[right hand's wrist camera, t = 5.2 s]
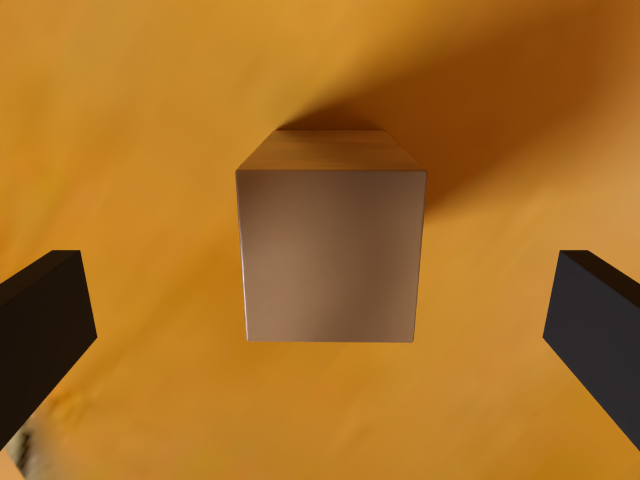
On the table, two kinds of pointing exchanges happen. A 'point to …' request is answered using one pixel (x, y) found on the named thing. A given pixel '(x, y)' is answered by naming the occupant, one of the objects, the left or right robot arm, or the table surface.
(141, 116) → the table surface
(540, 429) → the table surface
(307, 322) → the brick
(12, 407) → the right robot arm
